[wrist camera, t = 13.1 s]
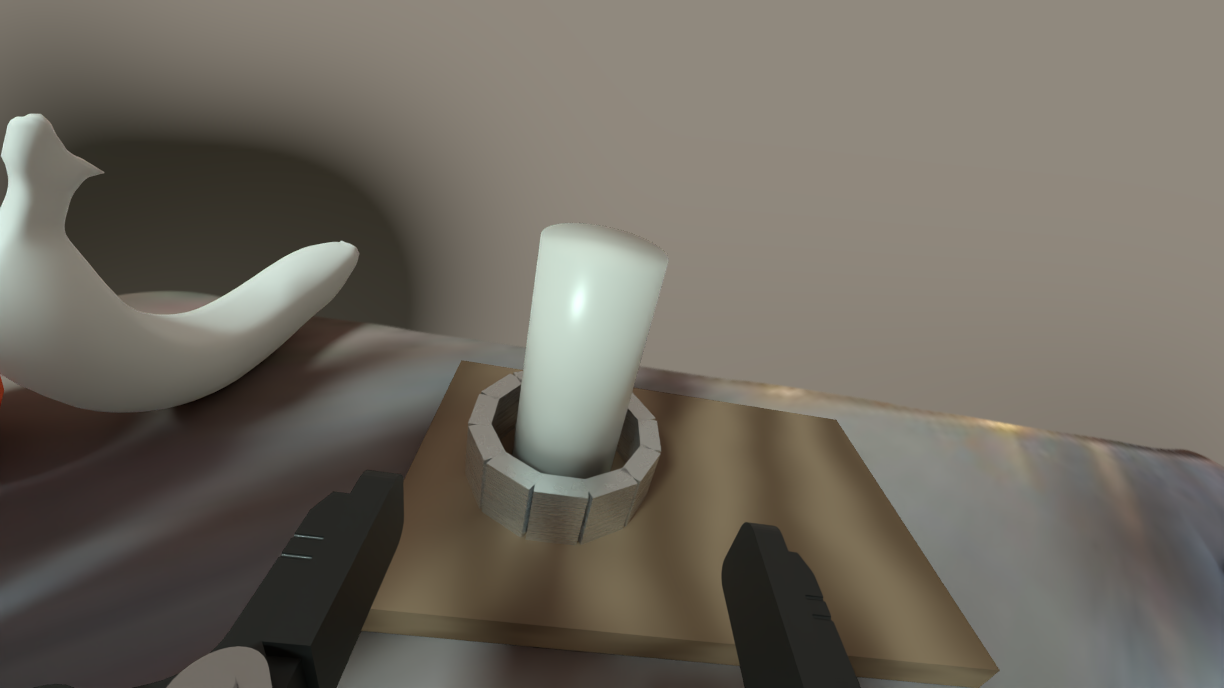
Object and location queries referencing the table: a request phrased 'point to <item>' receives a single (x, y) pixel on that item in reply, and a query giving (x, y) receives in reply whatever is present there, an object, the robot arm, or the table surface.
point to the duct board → (675, 548)
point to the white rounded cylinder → (584, 345)
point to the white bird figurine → (108, 328)
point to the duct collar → (553, 500)
